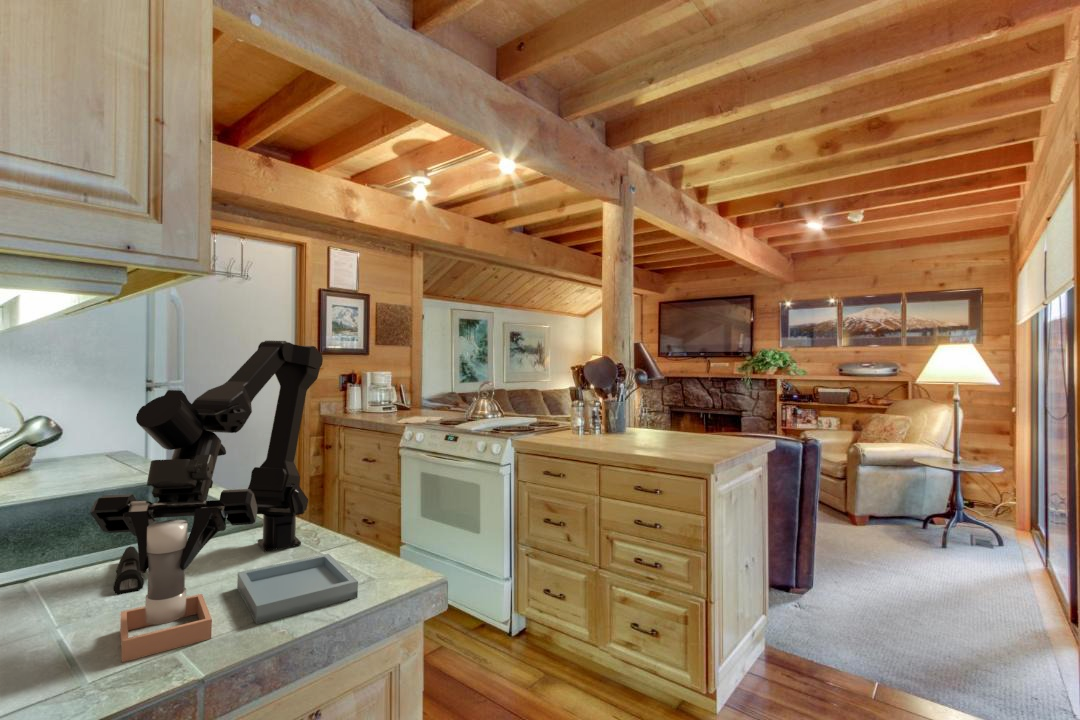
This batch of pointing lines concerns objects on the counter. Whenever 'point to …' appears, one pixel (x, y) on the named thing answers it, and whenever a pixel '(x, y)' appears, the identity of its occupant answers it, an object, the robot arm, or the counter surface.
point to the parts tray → (295, 587)
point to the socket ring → (164, 631)
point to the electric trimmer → (128, 573)
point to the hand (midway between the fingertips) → (162, 570)
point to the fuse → (166, 571)
